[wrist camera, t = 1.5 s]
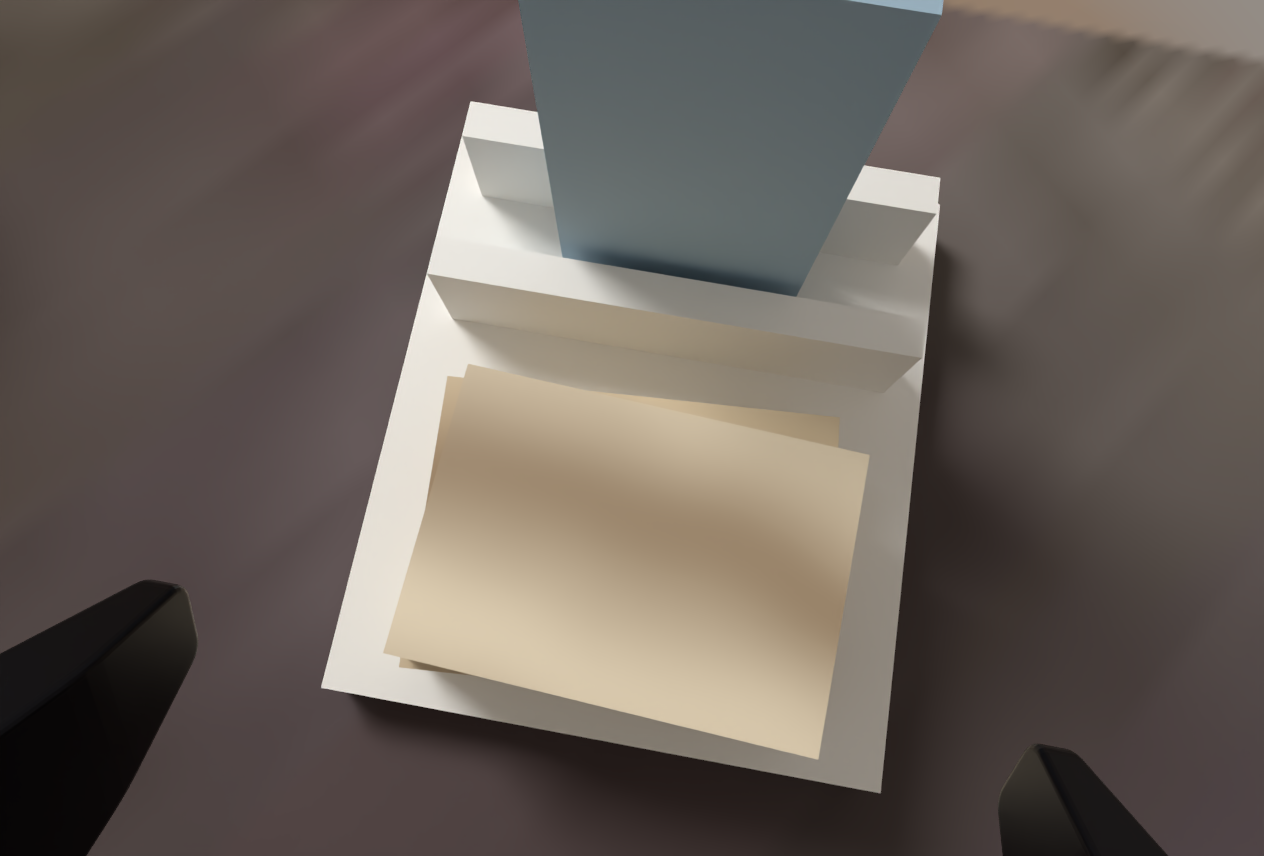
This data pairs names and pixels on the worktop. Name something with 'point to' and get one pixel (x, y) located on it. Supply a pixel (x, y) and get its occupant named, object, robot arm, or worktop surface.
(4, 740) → the robot arm
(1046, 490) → the worktop surface
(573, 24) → the blue rectangular block
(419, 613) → the offcut stack
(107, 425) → the worktop surface
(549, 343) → the rack
